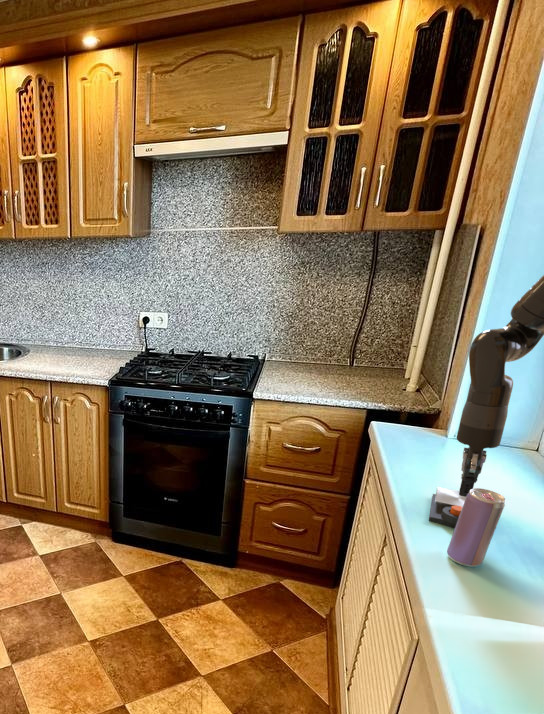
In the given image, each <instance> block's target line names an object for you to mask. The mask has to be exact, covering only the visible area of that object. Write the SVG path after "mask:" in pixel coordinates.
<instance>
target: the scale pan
mask: <svg viewBox="0 0 544 714" xmlns="http://www.w3.org/2000/svg"><path fill="white" fill-rule="evenodd" d="M435 494H436V498H435V503H440V504H445V505H449V506H454V505H457V506H461V507H463V504H464V502H465V499H466V497H465V496H460V495H459V490H454V489H451V488H445V487H439V486H437V487H436V491H435Z"/></svg>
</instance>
